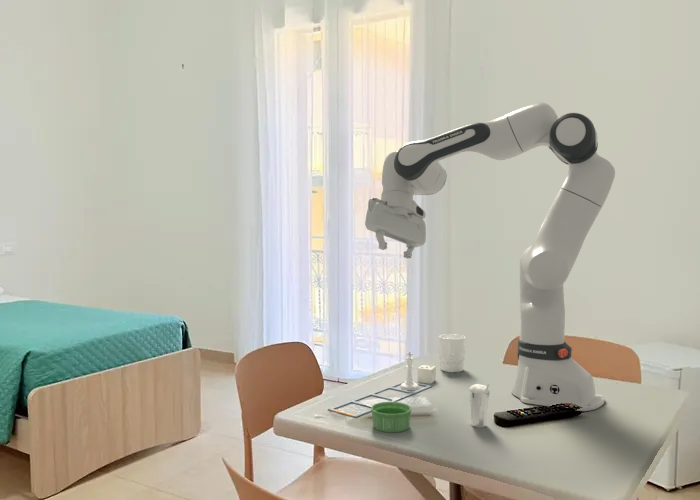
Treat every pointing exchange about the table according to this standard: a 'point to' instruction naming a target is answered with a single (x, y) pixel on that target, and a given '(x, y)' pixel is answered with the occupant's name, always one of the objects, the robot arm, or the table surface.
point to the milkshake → (479, 404)
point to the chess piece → (409, 375)
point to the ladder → (377, 396)
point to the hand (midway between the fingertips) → (395, 253)
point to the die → (426, 374)
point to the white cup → (452, 352)
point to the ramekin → (391, 416)
